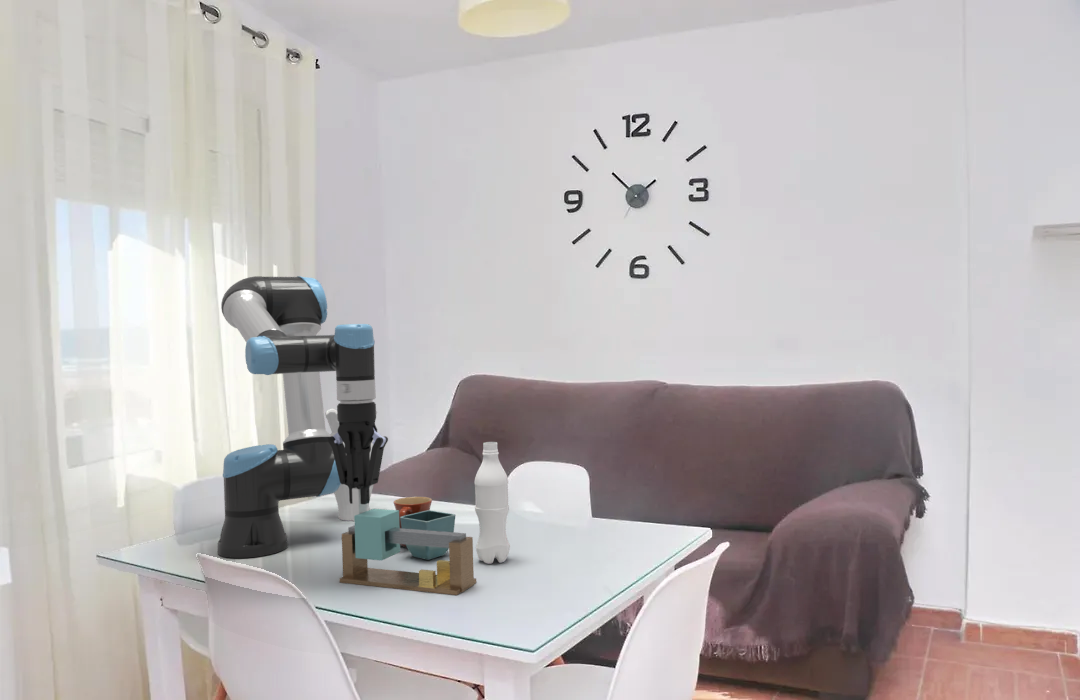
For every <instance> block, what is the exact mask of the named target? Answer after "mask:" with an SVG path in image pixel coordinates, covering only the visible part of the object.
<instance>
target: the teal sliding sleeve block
mask: <svg viewBox="0 0 1080 700" xmlns="http://www.w3.org/2000/svg"><path fill="white" fill-rule="evenodd" d="M354 519H355V521H354V525H355V552H356V558H360V559H367V560H372V561H384V560H386V559H388V558H391V557H393V556H395V555H397V554H399V553H400V552H401V545H400V544H395V543H385V531H387V530H390V529H392V528H400V527H399V510H396V509H379V508H372V509H369V511H366V512H363V513H361V514H358V515H355V516H354Z"/></svg>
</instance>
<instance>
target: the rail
mask: <svg viewBox="0 0 1080 700" xmlns="http://www.w3.org/2000/svg"><path fill="white" fill-rule="evenodd" d="M473 538H474V537H472V536H467V533H466V532H455V531H454V532H442V531H429V530H416V529H403V528H392V529H390V530H387V531H385V543H395V544H406V545H418V546H430V547H442V548H449V549H448V557H449V560H445V559H438V560H437V561H436V570H432V569H422V568H421V569H420V570H418V572H413V571H404V570H395V569H394V570H393V569H392V570H391V569H385V568H374V567H373V568H372V567H368V566H369V565H368V559H360V558H356V552H355V524H354V525H352V526H348V529H347V531H345V532H343V533H341V555H342V556H341V557H342V576H341V577H339V579H338V580H339V581H338V582H339V583H342V584H350V585H359V586H370V587H378V588H379V587H380V588H388V589H396V590H406V591H416V592H423V593H435V594H441V595H442V594H443V595H450V596H458V595H460V594H461V593H464V592H465V591H467V590H468V589H470V588H472V587H473V586H474V585H476V584H477V577H476V578H475V577H474V571H475V570H474V543H473Z"/></svg>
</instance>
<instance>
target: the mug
mask: <svg viewBox="0 0 1080 700" xmlns="http://www.w3.org/2000/svg"><path fill="white" fill-rule="evenodd" d="M432 502H433V499H432V498H431V497H428V496H407V497H402V498H397V499H395V500H394V501H393V504H394V505H393V506H394V508H395V510H399V527H400V528H402V526H401V520H400V517H402V516H406V515H410V514H414V513H419V512H423V511H428V510H431V506H432ZM400 547H402V548H405V549H408V548H407V546H406V544H400Z"/></svg>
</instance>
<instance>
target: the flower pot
mask: <svg viewBox="0 0 1080 700" xmlns="http://www.w3.org/2000/svg"><path fill="white" fill-rule="evenodd" d="M400 520H401V526H402V528H403V529H416V530H429V531H442V532H455V525H456V524H455V523H456V514H454V513H449V512H443V511H437V510H431V509H430V510H428V511H423V512H419V513H414V514H410V515H406V516H402V517H400ZM406 546H407V548H406V549H407V550H408V552H409V553H410V554H411V556H412V557H414V558H418V559H423V560H427V561H429V560H432V559H435V558H439V557H443V556H446V554H447V552H448V551H449V548H442V547H430V546H418V545H406Z"/></svg>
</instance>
